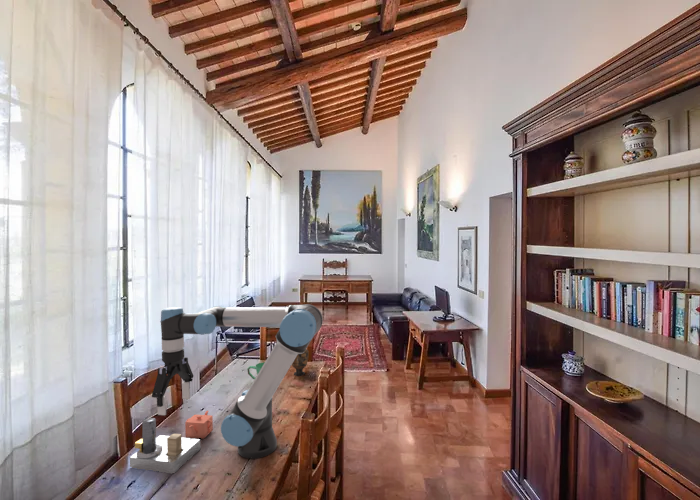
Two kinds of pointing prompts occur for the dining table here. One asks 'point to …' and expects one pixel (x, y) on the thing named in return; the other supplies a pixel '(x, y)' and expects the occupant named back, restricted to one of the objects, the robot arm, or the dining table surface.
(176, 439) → the tan wooden block
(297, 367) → the vase
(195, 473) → the dining table surface
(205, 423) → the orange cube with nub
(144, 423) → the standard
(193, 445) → the white base plate
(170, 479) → the dining table surface
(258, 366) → the mug
